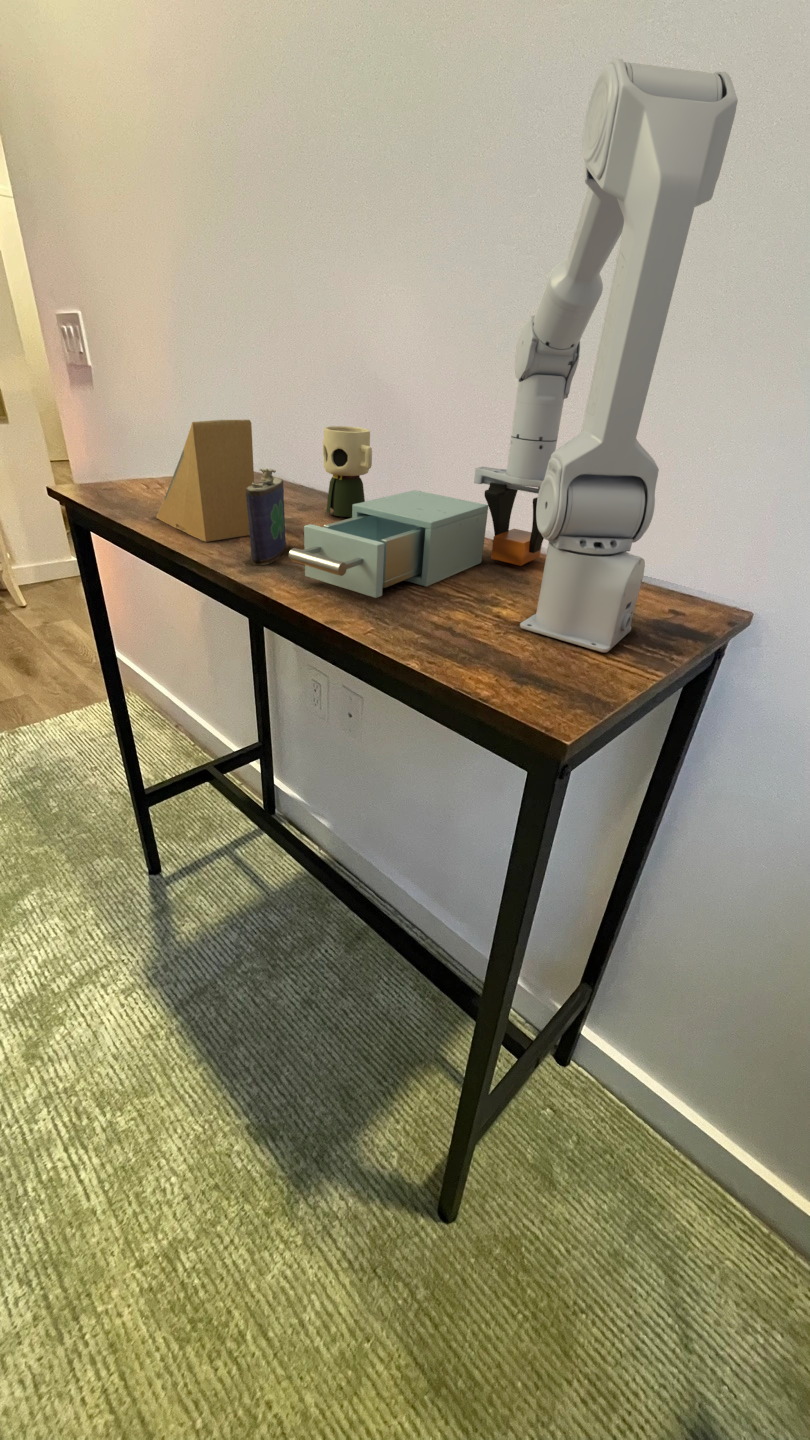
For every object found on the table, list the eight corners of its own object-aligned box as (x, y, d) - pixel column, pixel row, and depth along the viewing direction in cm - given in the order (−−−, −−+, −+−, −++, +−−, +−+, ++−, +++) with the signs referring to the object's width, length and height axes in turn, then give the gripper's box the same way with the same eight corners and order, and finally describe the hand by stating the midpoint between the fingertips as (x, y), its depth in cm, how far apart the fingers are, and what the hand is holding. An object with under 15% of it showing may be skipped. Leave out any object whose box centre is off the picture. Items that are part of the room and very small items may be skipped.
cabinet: (426, 587, 76) (431, 522, 72) (351, 565, 81) (352, 504, 77) (481, 562, 85) (488, 504, 82) (411, 545, 91) (414, 489, 87)
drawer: (350, 608, 66) (351, 553, 63) (278, 585, 71) (276, 532, 68) (437, 572, 78) (441, 524, 75) (370, 554, 83) (371, 508, 80)
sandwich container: (206, 511, 100) (196, 406, 93) (259, 533, 91) (252, 419, 83) (154, 517, 95) (138, 407, 87) (204, 542, 86) (191, 421, 78)
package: (539, 556, 87) (543, 534, 86) (520, 565, 83) (524, 543, 82) (510, 549, 89) (513, 528, 88) (490, 558, 85) (493, 536, 84)
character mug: (307, 511, 104) (306, 425, 97) (340, 506, 109) (340, 423, 102) (352, 526, 98) (353, 434, 91) (384, 519, 102) (388, 432, 96)
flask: (271, 544, 87) (267, 461, 81) (291, 546, 87) (289, 463, 81) (247, 564, 79) (241, 473, 73) (269, 566, 79) (265, 476, 73)
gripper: (601, 443, 78) (579, 552, 85) (497, 429, 85) (484, 531, 92) (580, 448, 73) (558, 563, 80) (471, 432, 80) (459, 540, 87)
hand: (517, 547), depth 86 cm, fingers closed on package, 4 cm apart
